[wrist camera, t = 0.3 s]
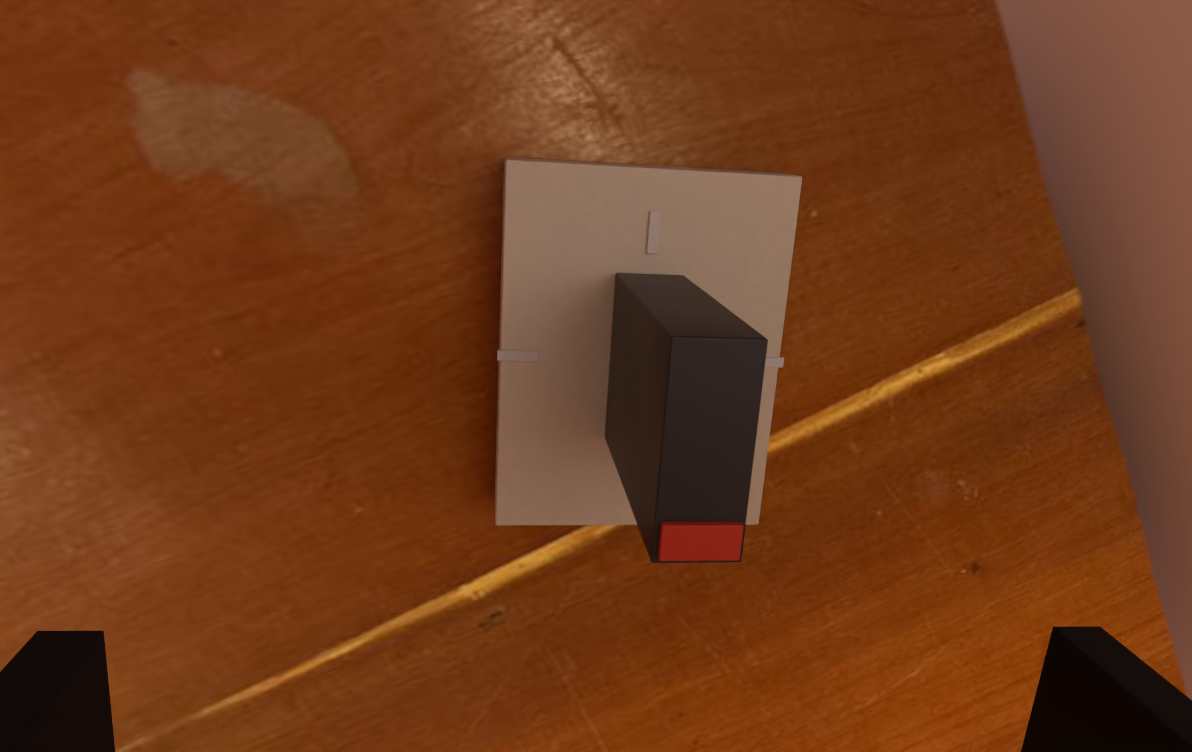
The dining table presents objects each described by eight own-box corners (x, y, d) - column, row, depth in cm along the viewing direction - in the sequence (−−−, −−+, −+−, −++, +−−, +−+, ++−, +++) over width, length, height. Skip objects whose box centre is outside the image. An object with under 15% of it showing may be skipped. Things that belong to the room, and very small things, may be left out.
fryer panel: (501, 156, 29) (502, 159, 26) (781, 172, 30) (807, 177, 28) (492, 497, 33) (492, 528, 30) (742, 497, 34) (762, 527, 31)
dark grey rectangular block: (615, 272, 28) (673, 338, 19) (684, 275, 28) (772, 341, 20) (604, 438, 30) (652, 568, 21) (669, 439, 30) (744, 567, 21)
